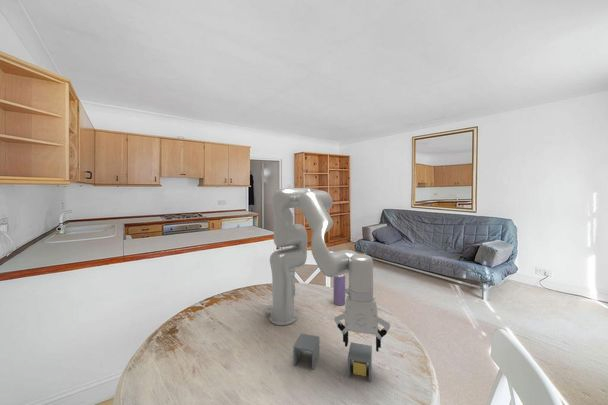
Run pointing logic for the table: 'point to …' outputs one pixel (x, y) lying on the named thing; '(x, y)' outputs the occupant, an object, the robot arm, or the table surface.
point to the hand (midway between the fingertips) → (361, 346)
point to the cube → (359, 368)
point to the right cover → (360, 356)
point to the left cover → (306, 347)
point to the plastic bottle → (293, 276)
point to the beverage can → (339, 289)
